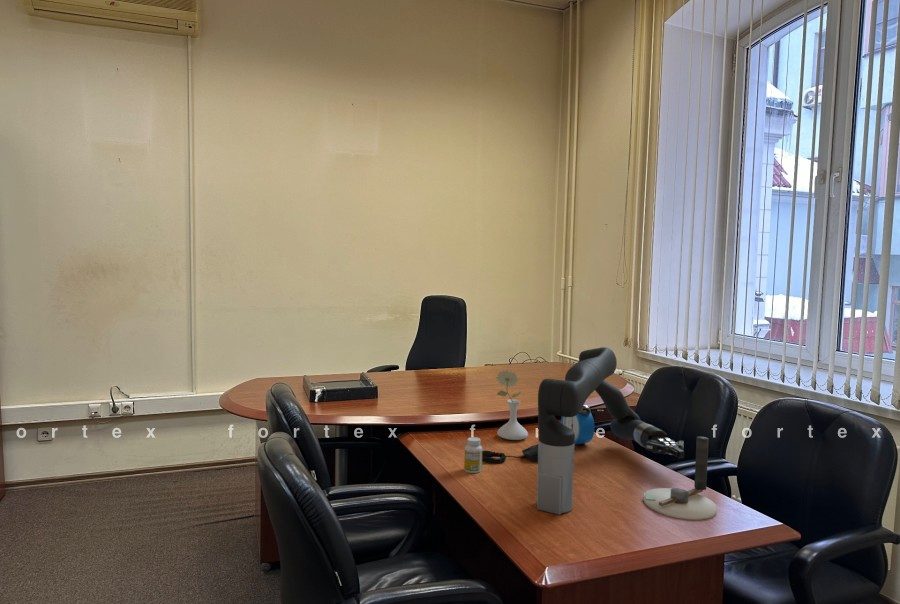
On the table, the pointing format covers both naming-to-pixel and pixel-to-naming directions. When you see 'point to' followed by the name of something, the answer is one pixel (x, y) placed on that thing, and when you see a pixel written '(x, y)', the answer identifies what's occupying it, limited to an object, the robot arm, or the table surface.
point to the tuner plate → (680, 505)
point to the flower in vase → (512, 427)
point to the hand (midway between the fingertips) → (681, 454)
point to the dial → (700, 475)
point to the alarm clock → (581, 425)
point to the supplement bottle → (473, 456)
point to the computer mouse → (528, 453)
